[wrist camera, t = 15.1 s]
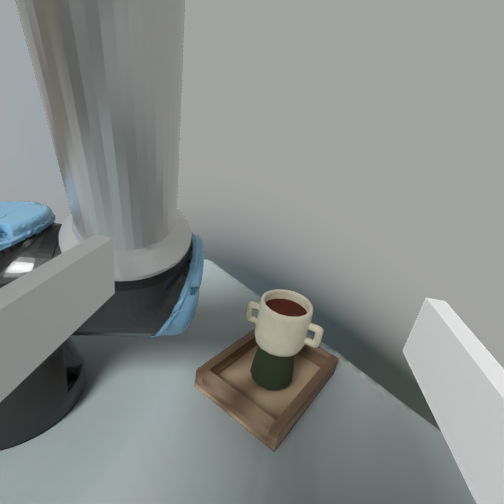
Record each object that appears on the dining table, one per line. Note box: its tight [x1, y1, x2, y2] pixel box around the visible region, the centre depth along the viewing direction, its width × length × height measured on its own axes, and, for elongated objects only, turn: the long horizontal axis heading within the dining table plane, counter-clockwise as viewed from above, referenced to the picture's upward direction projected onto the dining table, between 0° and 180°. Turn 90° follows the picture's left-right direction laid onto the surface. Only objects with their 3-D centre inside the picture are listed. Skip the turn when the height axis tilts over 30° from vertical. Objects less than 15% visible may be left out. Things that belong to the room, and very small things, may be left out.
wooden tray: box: [195, 329, 339, 451], centre depth 45 cm, size 13×17×3 cm
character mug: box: [246, 289, 323, 390], centre depth 43 cm, size 11×7×13 cm, turn 65°
